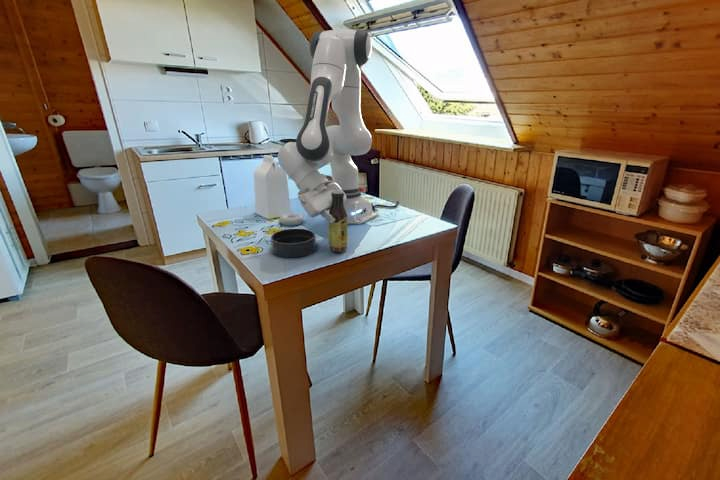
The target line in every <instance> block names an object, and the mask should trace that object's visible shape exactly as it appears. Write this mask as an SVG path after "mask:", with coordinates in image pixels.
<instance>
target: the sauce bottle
mask: <svg viewBox="0 0 720 480" xmlns="http://www.w3.org/2000/svg"><path fill="white" fill-rule="evenodd" d="M331 196H332V207H331V209H330V210H328V213H329V214H330V215H332V216H334V217H335V218H336V221H335V222H334V223H330V222H329V221H328V246H329V247H328V248H329V250H330V251H331V252H333V253H342V252H345V251H346V250H347V247H348V224H347V213H346V211H345V208H344V204H343V197H344V192H342V191H334V192H332V193H331Z"/></svg>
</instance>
